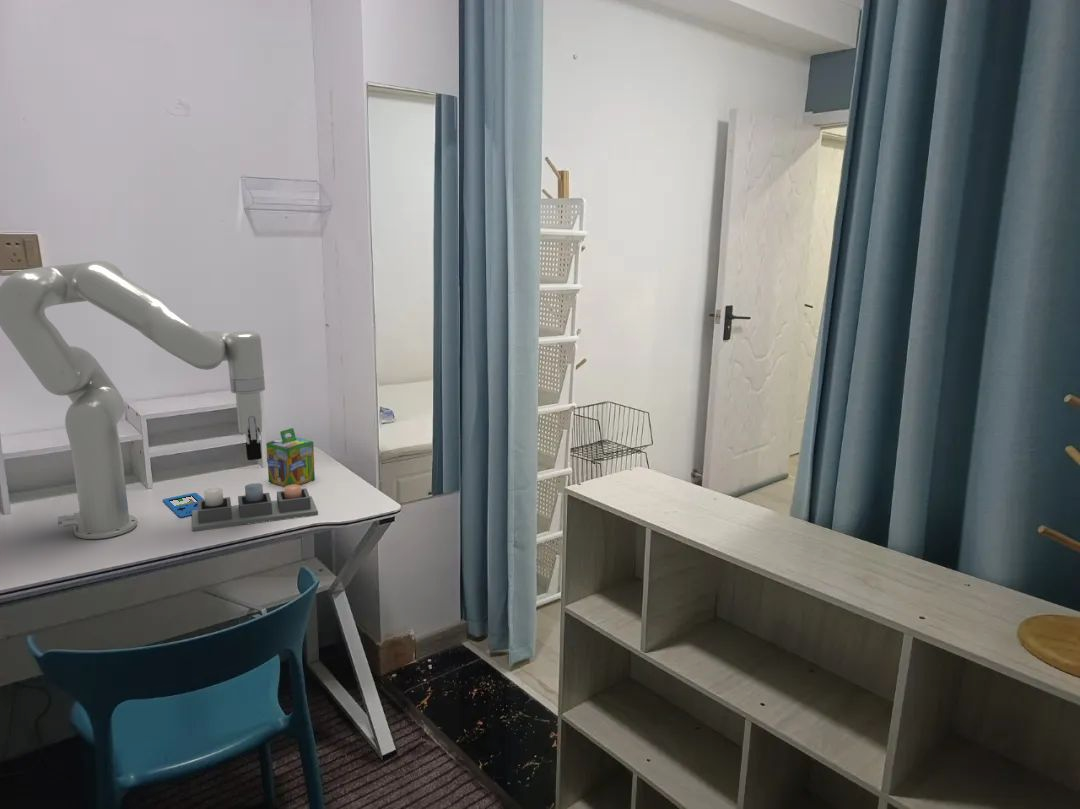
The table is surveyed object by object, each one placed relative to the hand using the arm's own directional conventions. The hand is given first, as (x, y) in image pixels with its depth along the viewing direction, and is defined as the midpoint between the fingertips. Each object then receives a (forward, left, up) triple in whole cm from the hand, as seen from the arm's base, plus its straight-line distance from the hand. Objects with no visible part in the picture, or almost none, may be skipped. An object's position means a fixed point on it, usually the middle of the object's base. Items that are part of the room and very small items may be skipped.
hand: (254, 458), depth 174 cm
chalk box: (+10, +22, -15) cm, 28 cm away
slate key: (-1, 0, -10) cm, 10 cm away
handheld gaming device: (-16, +12, -15) cm, 25 cm away
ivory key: (-10, 0, -10) cm, 14 cm away
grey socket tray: (-1, 0, -14) cm, 14 cm away
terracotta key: (+8, 0, -12) cm, 14 cm away
